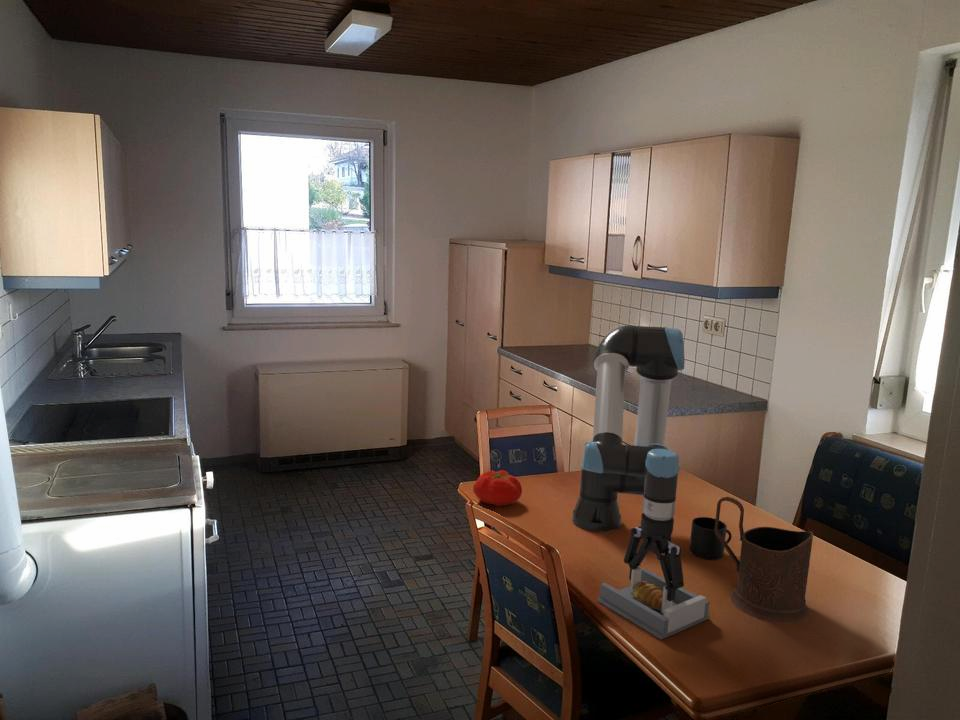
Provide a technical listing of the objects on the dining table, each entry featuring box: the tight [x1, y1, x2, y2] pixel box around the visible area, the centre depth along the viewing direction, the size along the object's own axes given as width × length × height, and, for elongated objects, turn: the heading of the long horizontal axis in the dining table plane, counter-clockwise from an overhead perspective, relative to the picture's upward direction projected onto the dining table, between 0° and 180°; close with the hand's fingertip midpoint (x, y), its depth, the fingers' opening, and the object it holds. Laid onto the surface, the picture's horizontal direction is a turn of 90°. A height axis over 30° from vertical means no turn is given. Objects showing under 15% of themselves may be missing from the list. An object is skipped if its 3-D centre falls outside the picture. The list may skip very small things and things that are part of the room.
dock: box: [597, 568, 710, 640], centre depth 178 cm, size 20×17×6 cm
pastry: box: [632, 581, 663, 610], centre depth 179 cm, size 9×7×4 cm
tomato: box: [472, 469, 523, 507], centre depth 243 cm, size 14×16×10 cm
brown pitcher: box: [714, 496, 814, 625], centre depth 183 cm, size 18×24×25 cm
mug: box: [689, 516, 732, 561], centre depth 211 cm, size 9×12×9 cm
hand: (650, 602), depth 179 cm, fingers closed on pastry, 9 cm apart
